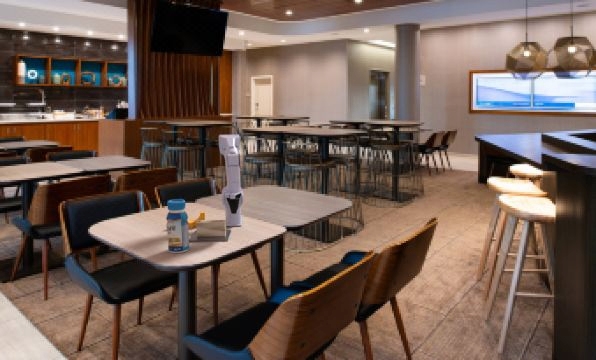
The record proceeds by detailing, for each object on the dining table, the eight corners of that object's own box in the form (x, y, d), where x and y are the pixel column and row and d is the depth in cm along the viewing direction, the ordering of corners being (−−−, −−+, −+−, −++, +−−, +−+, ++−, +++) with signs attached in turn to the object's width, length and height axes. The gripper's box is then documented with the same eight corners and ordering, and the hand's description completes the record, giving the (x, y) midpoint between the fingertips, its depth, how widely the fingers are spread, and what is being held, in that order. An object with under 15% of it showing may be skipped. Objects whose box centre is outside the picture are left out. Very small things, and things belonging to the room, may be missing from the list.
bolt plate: (195, 231, 199) (195, 230, 199) (231, 231, 200) (231, 229, 200) (189, 241, 185) (189, 240, 185) (227, 241, 186) (227, 239, 186)
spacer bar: (198, 233, 194) (197, 219, 193) (226, 233, 195) (225, 219, 194) (196, 236, 190) (196, 222, 189) (225, 235, 191) (224, 221, 190)
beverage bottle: (193, 251, 175) (190, 201, 171) (172, 255, 170) (169, 204, 166) (185, 245, 181) (182, 197, 178) (164, 249, 177) (161, 200, 173)
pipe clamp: (178, 228, 204) (177, 215, 203) (179, 226, 209) (178, 212, 208) (205, 227, 207) (204, 213, 205) (205, 224, 211) (204, 211, 210)
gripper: (226, 178, 202) (227, 207, 204) (222, 184, 187) (223, 215, 190) (242, 178, 202) (242, 207, 204) (239, 184, 188) (240, 215, 190)
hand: (234, 211), depth 197 cm, fingers open, 7 cm apart
